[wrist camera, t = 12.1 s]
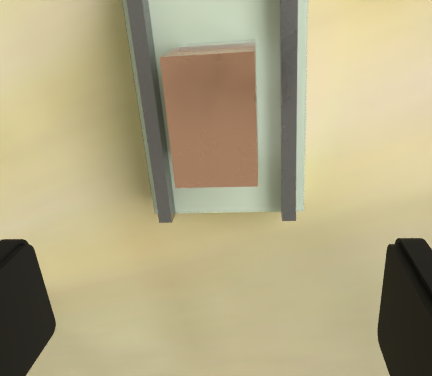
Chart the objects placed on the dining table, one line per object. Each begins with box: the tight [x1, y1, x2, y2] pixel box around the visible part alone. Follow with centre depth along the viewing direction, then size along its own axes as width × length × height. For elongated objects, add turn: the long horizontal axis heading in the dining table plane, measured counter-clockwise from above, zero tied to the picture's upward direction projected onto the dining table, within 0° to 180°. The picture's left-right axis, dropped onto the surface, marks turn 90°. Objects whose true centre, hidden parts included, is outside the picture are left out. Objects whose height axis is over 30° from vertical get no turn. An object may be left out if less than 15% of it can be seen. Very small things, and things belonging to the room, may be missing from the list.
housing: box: [160, 39, 259, 188], centre depth 25 cm, size 5×8×6 cm, turn 4°
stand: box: [122, 0, 308, 223], centre depth 29 cm, size 18×12×4 cm, turn 4°
